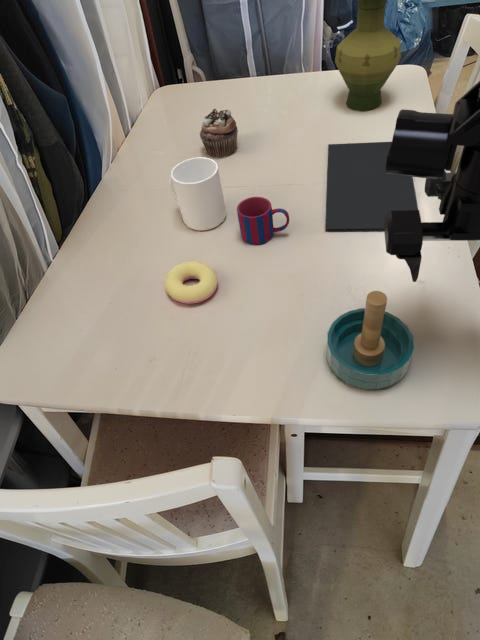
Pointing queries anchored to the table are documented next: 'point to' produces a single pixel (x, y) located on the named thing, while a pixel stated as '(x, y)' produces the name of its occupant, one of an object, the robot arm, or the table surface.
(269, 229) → the cup
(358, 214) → the mat
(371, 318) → the stick
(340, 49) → the vase
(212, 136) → the cupcake
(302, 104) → the table surface
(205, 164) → the mug
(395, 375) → the bowl
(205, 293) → the donut
